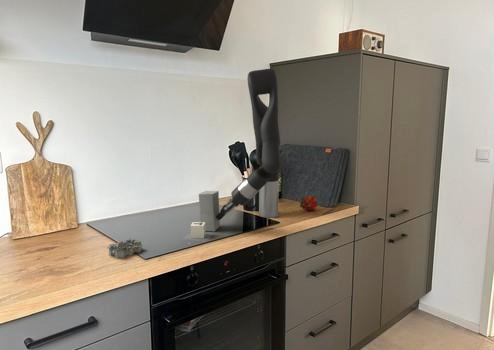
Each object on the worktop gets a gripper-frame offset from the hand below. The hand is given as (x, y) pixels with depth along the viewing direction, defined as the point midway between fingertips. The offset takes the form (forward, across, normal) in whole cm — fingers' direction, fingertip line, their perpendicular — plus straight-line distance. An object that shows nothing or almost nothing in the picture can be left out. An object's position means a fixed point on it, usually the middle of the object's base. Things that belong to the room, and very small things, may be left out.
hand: (217, 218), depth 151 cm
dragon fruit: (-17, -47, +24) cm, 56 cm away
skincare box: (+6, 0, +1) cm, 6 cm away
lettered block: (+6, +11, +1) cm, 12 cm away
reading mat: (+6, +11, +1) cm, 12 cm away
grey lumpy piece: (+17, +35, -10) cm, 40 cm away
